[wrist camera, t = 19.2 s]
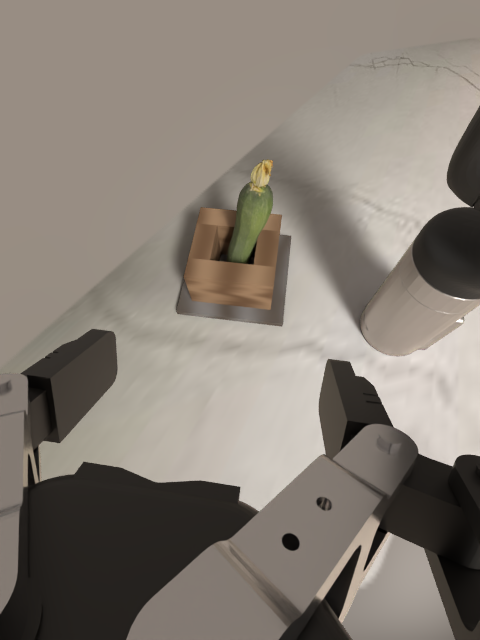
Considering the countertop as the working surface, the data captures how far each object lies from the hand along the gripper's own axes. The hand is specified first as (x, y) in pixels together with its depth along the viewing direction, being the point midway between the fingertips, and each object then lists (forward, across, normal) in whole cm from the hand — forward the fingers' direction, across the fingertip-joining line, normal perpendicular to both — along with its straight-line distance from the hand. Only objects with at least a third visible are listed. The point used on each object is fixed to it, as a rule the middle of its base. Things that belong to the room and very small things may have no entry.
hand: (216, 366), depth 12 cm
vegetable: (+40, +4, +6) cm, 41 cm away
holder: (+41, +4, +6) cm, 42 cm away
